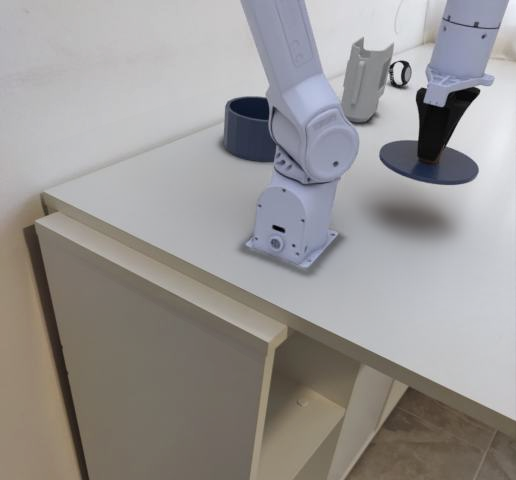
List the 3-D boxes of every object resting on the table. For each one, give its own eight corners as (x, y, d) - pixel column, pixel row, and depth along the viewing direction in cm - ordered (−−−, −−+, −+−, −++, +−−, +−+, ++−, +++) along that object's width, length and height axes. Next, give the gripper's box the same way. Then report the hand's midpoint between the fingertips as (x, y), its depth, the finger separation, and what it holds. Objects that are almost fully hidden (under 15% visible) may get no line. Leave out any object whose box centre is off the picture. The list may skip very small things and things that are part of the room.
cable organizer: (381, 109, 103) (397, 40, 95) (364, 128, 95) (381, 53, 87) (348, 102, 105) (361, 33, 97) (329, 120, 96) (342, 46, 88)
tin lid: (463, 200, 58) (480, 154, 55) (363, 170, 62) (374, 125, 58) (484, 166, 66) (500, 124, 62) (395, 141, 69) (405, 100, 66)
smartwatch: (397, 90, 114) (403, 64, 111) (382, 82, 118) (388, 57, 114) (412, 89, 116) (418, 64, 113) (397, 81, 119) (403, 57, 116)
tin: (272, 167, 79) (277, 127, 75) (210, 148, 82) (212, 108, 78) (303, 146, 86) (309, 108, 82) (245, 128, 89) (248, 91, 85)
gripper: (498, 42, 47) (448, 185, 56) (522, 20, 57) (476, 145, 66) (421, 26, 50) (385, 167, 59) (457, 7, 60) (421, 130, 69)
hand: (429, 154), depth 63 cm, fingers closed on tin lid, 2 cm apart
